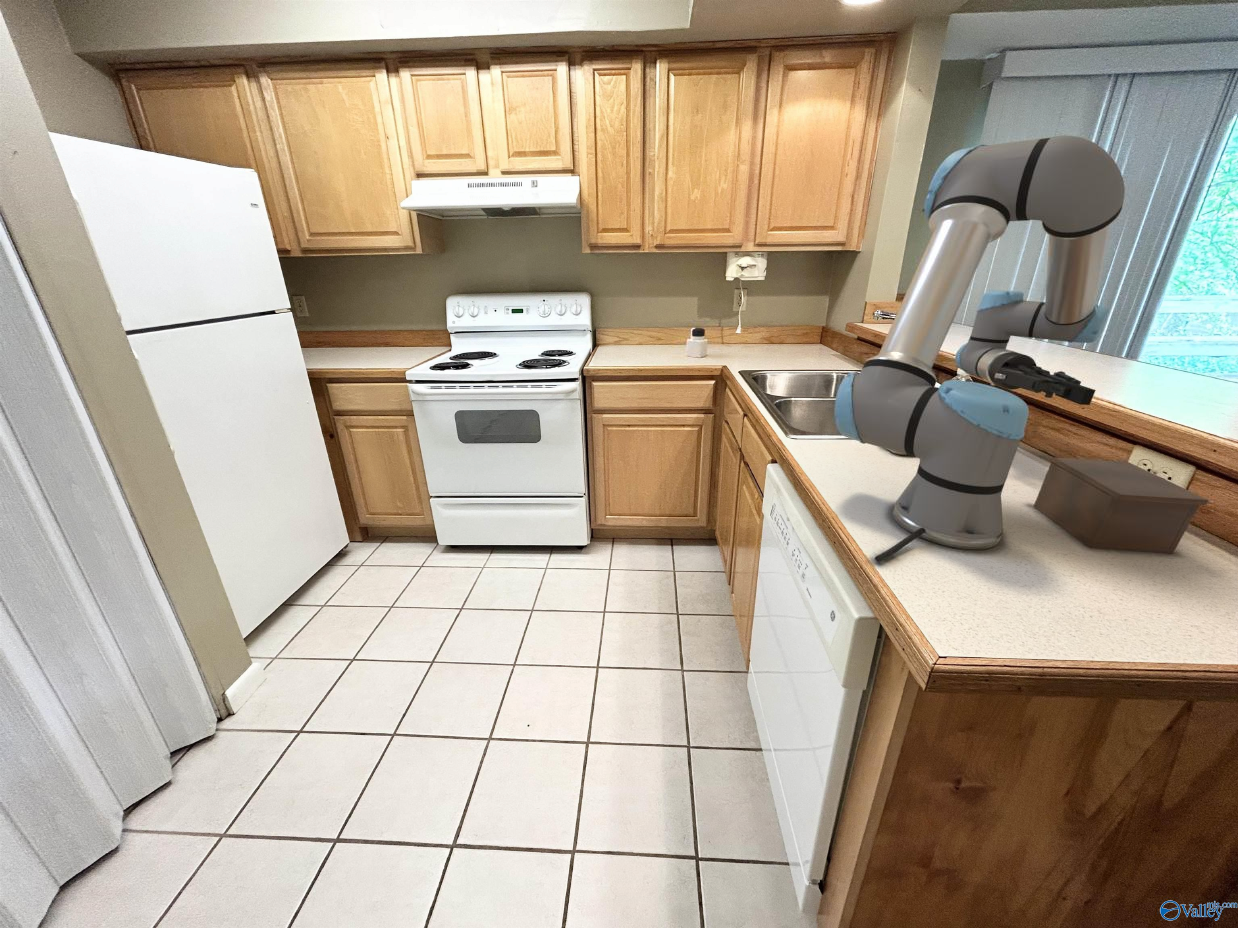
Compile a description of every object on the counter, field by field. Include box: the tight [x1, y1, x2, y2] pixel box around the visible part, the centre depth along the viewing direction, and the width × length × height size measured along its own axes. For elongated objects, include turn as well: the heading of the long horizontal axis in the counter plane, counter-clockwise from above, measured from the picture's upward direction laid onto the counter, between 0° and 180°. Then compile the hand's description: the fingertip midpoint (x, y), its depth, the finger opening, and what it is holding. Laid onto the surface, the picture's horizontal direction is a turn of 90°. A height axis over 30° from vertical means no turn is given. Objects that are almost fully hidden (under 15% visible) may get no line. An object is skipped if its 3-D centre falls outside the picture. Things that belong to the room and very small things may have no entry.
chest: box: [1033, 461, 1200, 554], centre depth 80 cm, size 14×12×9 cm
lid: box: [1051, 456, 1209, 506], centre depth 77 cm, size 14×12×1 cm
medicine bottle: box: [685, 327, 709, 359], centre depth 214 cm, size 7×7×12 cm
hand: (1087, 397), depth 85 cm, fingers closed
